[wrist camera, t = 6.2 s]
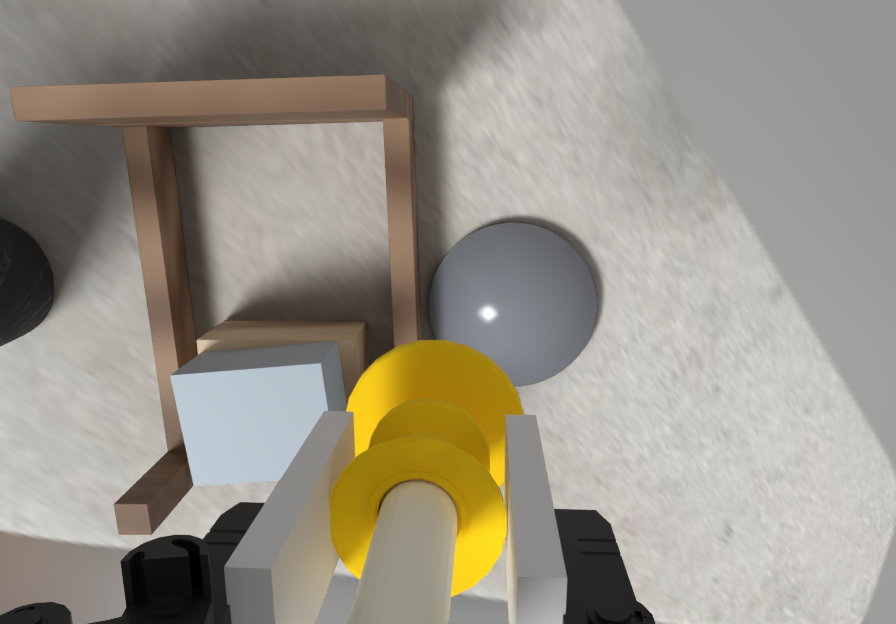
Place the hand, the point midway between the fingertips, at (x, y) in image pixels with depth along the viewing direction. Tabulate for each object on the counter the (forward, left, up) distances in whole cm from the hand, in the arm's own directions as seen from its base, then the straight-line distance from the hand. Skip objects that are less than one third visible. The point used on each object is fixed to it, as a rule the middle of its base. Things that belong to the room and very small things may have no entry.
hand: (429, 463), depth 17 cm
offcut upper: (+4, -9, -16) cm, 19 cm away
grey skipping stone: (+1, +3, -20) cm, 20 cm away
